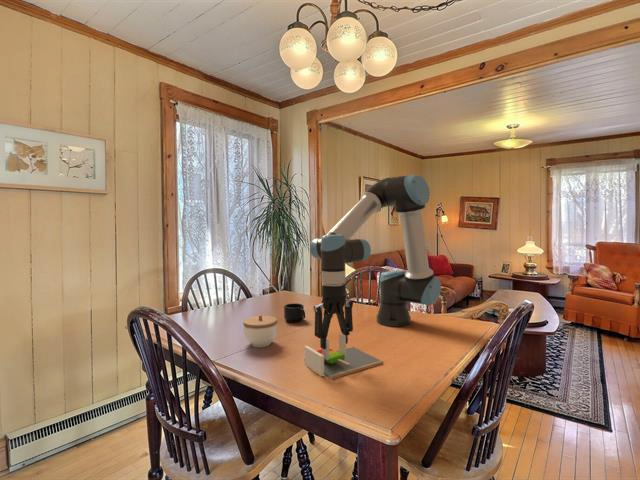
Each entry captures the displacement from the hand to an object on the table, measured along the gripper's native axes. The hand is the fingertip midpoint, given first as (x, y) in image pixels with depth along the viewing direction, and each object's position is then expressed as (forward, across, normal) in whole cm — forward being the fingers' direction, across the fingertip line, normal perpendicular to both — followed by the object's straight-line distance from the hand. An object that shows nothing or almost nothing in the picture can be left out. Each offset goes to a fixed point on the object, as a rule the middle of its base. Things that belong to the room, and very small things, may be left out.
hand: (334, 356), depth 111 cm
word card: (+3, +7, -1) cm, 8 cm away
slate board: (+3, -4, -1) cm, 5 cm away
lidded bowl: (+3, +12, -32) cm, 34 cm away
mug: (+3, -13, -51) cm, 53 cm away
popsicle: (+2, 0, 0) cm, 2 cm away
